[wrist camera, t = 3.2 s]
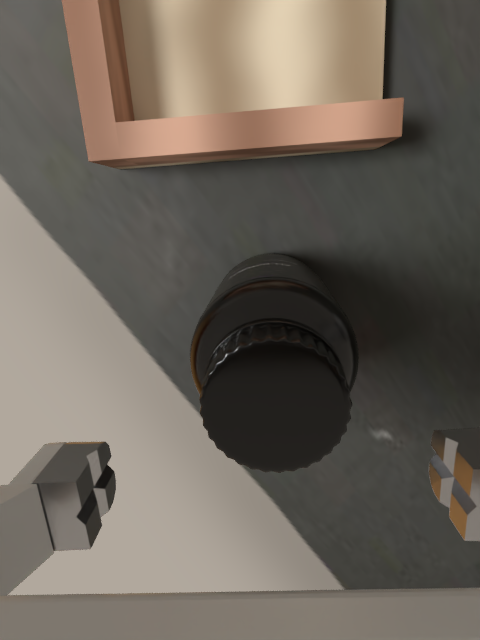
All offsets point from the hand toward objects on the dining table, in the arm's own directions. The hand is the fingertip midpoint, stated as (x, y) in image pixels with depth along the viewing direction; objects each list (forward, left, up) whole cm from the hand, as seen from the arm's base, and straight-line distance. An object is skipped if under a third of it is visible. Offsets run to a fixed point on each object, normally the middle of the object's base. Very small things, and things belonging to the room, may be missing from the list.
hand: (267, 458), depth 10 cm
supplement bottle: (0, 0, -14) cm, 14 cm away
